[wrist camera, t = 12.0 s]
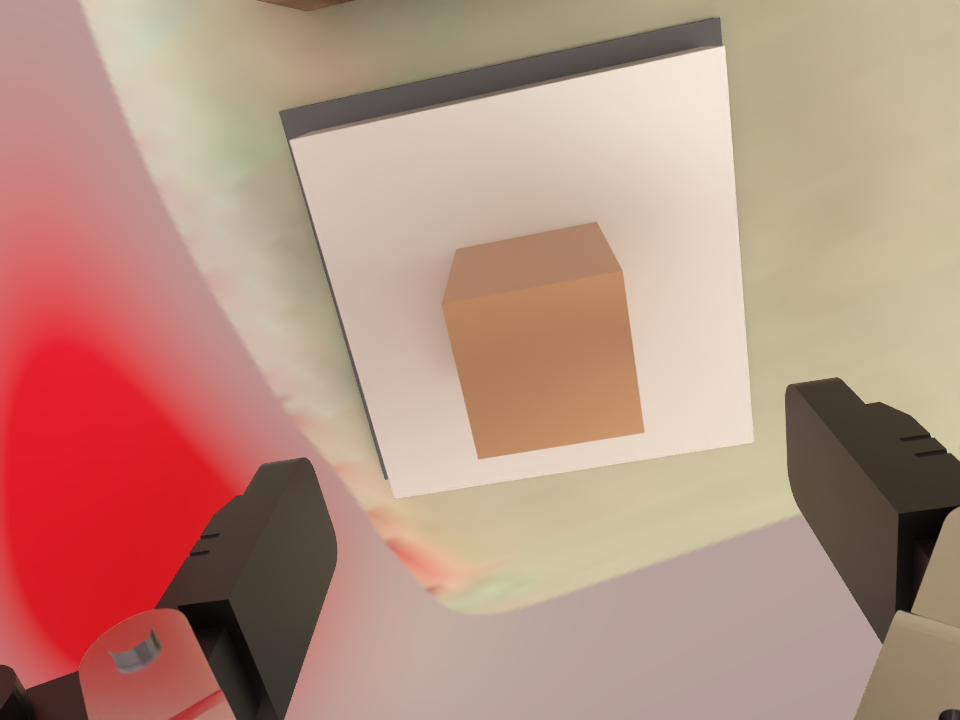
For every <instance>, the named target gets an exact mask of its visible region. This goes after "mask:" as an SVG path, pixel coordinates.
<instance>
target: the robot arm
mask: <svg viewBox="0 0 960 720" xmlns="http://www.w3.org/2000/svg"><path fill="white" fill-rule="evenodd" d="M785 410H786V438H787V465H788V476H789V481H790V486H791V490H792V493H793V496H794V499H795V501H796V503H797V506H798V507H799V509H800V511H801V512H802V514H803V516H804V517H805V519H806V521H807V522H808V524H809V525H810V527H811V529H812V530H813V532H814V533H815V535H816V537H817V538H818V540H819V542H820V543H821V545H822V547H823V548H824V550H825V551H826V553H827V555H828V556H829V558H830V560H831V561H832V563H833V564H834V566H835V568H836V569H837V571H838V573H839V574H840V576H841V577H842V579H843V581H844V582H845V584H846V586H847V587H848V589H849V591H850V592H851V594H852V595H853V597H854V599H855V600H856V602H857V604H858V605H859V607H860V608H861V610H862V612H863V613H864V615H865V616H866V618H867V620H868V621H869V623H870V625H871V626H872V628H873V630H874V631H875V633H876V634H877V636H878V638H879V639H880V641H881V643H882V644H883V646H882V648H881V651H880V653H879V657H878V659H877V661H876V664H875V666H874V669H873V671H872V674H871V676H870V679H869V682H868V684H867V687H866V689H865V692H864V694H863V697H862V699H861V702H860V705H859V707H858V710H857V713H856V715H855V717H854V720H960V461H959V460H957V459H956V458H955V457H954V456H953V455H952V454H951V453H947V449H946V448H945V447H944V446H943V445H941V444H940V443H939V442H938V441H937V440H936V439H935V438H931V436H930V433H929V432H928V431H927V430H926V429H924V428H923V427H922V426H921V425H920V424H919V423H918V422H917V421H916V420H915V419H914V418H913V417H912V416H910V415H908V414H906V413H904V412H901V411H899V410H897V409H895V408H892V407H890V406H888V405H886V404H883V403H881V402H877V403H870V404H865V403H864V402H863V401H862V400H861V399H860V398H859V397H858V396H857V395H856V394H855V393H854V392H853V391H852V390H851V389H850V388H849V387H848V386H847V385H846V384H845V383H844V382H843V381H842V380H841V379H840V378H829V379H823V380H816V381H809V382H803V383H796V384H790V385H788V387H787V389H786V393H785ZM336 561H337V542H336V536H335V531H334V528H333V525H332V522H331V519H330V516H329V514H328V510H327V507H326V504H325V501H324V498H323V495H322V492H321V489H320V486H319V483H318V480H317V477H316V473H315V471H314V468H313V466H312V464H311V462H310V461H309V460H308V459H307V458H297V459H290V460H284V461H278V462H271V463H265V464H262V465H261V466H260V467H259V469H258V471H257V472H256V474H255V476H254V477H253V479H252V481H251V482H250V484H249V486H248V487H247V489H246V491H245V492H244V494H243V495H240V496H235V497H234V498H233V499H232V500H231V501H230V502H229V503H227V504H226V505H225V506H224V507H223V508H222V509H220V510H219V511H218V512H217V513H216V514H215V515H213V517H212V519H211V520H210V522H209V523H208V525H207V526H206V528H205V530H204V531H203V533H202V534H201V540H198V541H197V542H196V544H195V546H194V547H193V549H192V550H191V552H190V557H187V558H186V560H185V561H184V563H183V564H182V566H181V567H180V569H179V571H178V572H177V574H176V575H175V577H174V579H173V580H172V582H171V583H170V585H169V586H168V588H167V590H166V591H165V593H164V594H163V596H162V597H161V599H160V601H159V602H158V604H157V605H156V607H155V609H154V610H150V611H146V612H143V613H140V614H137V615H135V616H132V617H130V618H128V619H126V620H124V621H122V622H121V623H119V624H117V625H115V626H114V627H113V628H111V629H110V630H108V631H107V632H106V633H104V634H103V635H102V636H101V637H100V638H99V639H98V640H96V641H95V642H94V643H93V645H92V646H91V647H90V648H89V649H88V651H87V653H86V654H85V655H84V657H83V659H82V661H81V663H80V667H79V671H76V672H74V673H71V674H68V675H65V676H63V677H60V678H57V679H54V680H51V681H48V682H46V683H43V684H40V685H37V686H34V687H32V688H29V689H26V690H25V689H24V687H23V685H22V684H21V682H20V680H19V679H18V677H17V675H16V673H15V672H14V670H13V669H12V668H10V667H8V666H5V665H0V720H284V718H285V715H286V712H287V709H288V706H289V703H290V700H291V697H292V694H293V691H294V689H295V686H296V683H297V680H298V677H299V674H300V671H301V668H302V665H303V662H304V659H305V656H306V653H307V650H308V647H309V644H310V641H311V638H312V635H313V632H314V629H315V626H316V623H317V621H318V618H319V614H320V612H321V609H322V606H323V602H324V600H325V596H326V594H327V591H328V588H329V585H330V582H331V579H332V576H333V573H334V570H335V567H336Z"/></svg>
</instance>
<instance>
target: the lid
mask: <svg viewBox="0 0 960 720" xmlns="http://www.w3.org/2000/svg"><path fill="white" fill-rule="evenodd" d="M289 141H290V145H291V148H292V152H293V155H294V158H295V162H296V165H297V169H298V172H299V175H300V179H301V182H302V186H303V189H304V192H305V196H306V199H307V203H308V206H309V209H310V213H311V216H312V220H313V223H314V227H315V230H316V233H317V237H318V240H319V244H320V247H321V250H322V254H323V257H324V261H325V264H326V267H327V271H328V274H329V278H330V281H331V284H332V288H333V291H334V295H335V298H336V301H337V305H338V308H339V312H340V315H341V319H342V322H343V325H344V329H345V332H346V336H347V339H348V342H349V346H350V349H351V353H352V356H353V359H354V363H355V366H356V370H357V373H358V376H359V380H360V383H361V387H362V390H363V393H364V397H365V400H366V404H367V407H368V411H369V414H370V417H371V421H372V424H373V428H374V431H375V434H376V438H377V441H378V445H379V448H380V451H381V455H382V458H383V462H384V465H385V468H386V472H387V475H388V479H389V482H390V485H391V489H392V492H393V496H394V499H398V498H404V497H410V496H417V495H423V494H429V493H436V492H442V491H448V490H455V489H461V488H468V487H474V486H480V485H487V484H493V483H499V482H506V481H512V480H518V479H525V478H531V477H537V476H544V475H550V474H557V473H563V472H569V471H576V470H582V469H588V468H595V467H601V466H607V465H614V464H620V463H627V462H633V461H639V460H646V459H652V458H658V457H665V456H671V455H677V454H684V453H690V452H696V451H703V450H709V449H716V448H722V447H728V446H735V445H741V444H747V443H754V437H753V423H752V409H751V395H750V381H749V368H748V354H747V340H746V326H745V313H744V299H743V285H742V271H741V258H740V244H739V230H738V216H737V203H736V189H735V175H734V161H733V148H732V134H731V120H730V106H729V92H728V79H727V65H726V51H725V46H706V47H697V48H693V49H688V50H684V51H679V52H674V53H670V54H665V55H661V56H656V57H651V58H647V59H642V60H638V61H633V62H629V63H624V64H619V65H615V66H610V67H606V68H601V69H596V70H592V71H587V72H583V73H578V74H573V75H569V76H564V77H560V78H555V79H550V80H546V81H541V82H537V83H532V84H527V85H523V86H518V87H514V88H509V89H504V90H500V91H495V92H491V93H486V94H481V95H477V96H472V97H468V98H463V99H458V100H454V101H449V102H445V103H440V104H435V105H431V106H426V107H422V108H417V109H412V110H408V111H403V112H399V113H394V114H389V115H385V116H380V117H376V118H371V119H366V120H362V121H357V122H353V123H348V124H343V125H339V126H334V127H330V128H325V129H320V130H316V131H312V132H309V133H307V134H304V135H301V136H299V137H296V138H294V139H291V140H289Z"/></svg>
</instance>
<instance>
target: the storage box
mask: <svg viewBox="0 0 960 720" xmlns="http://www.w3.org/2000/svg"><path fill="white" fill-rule="evenodd" d="M258 1H263V2H267V3H272V4H277V5H281V6H286V7H290V8H295V9H300V10H304V11H309V10H313V9H317V8H322V7H326V6H331V5H335V4H339V3H344V2H348V1H352V0H258Z"/></svg>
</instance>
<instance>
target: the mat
mask: <svg viewBox="0 0 960 720" xmlns="http://www.w3.org/2000/svg"><path fill="white" fill-rule="evenodd" d="M706 46H722V38H721V23H720V17H719V18H713V19H709V20H704V21H699V22H695V23H690V24H686V25H681V26H676V27H672V28H667V29H662V30H658V31H653V32H648V33H644V34H639V35H634V36H630V37H625V38H620V39H616V40H611V41H606V42H602V43H597V44H592V45H588V46H583V47H578V48H574V49H569V50H564V51H560V52H555V53H550V54H546V55H541V56H536V57H532V58H527V59H522V60H518V61H513V62H508V63H504V64H499V65H494V66H490V67H485V68H480V69H476V70H471V71H466V72H462V73H457V74H452V75H448V76H443V77H438V78H434V79H429V80H424V81H420V82H415V83H411V84H406V85H401V86H397V87H392V88H387V89H383V90H378V91H373V92H369V93H364V94H359V95H355V96H350V97H345V98H341V99H336V100H331V101H327V102H322V103H317V104H313V105H308V106H303V107H299V108H294V109H289V110H285V111H280V112H279V113H280V117H281V120H282V124H283V127H284V131H285V134H286V138H287V141H288V144H289V148H290V151H291V155H292V158H293V162H294V165H295V169H296V172H297V176H298V179H299V183H300V186H301V190H302V193H303V197H304V200H305V203H306V207H307V210H308V214H309V217H310V221H311V224H312V228H313V231H314V235H315V238H316V242H317V245H318V249H319V252H320V255H321V259H322V262H323V266H324V269H325V273H326V276H327V280H328V283H329V287H330V290H331V294H332V297H333V301H334V304H335V308H336V311H337V314H338V318H339V321H340V325H341V328H342V332H343V335H344V339H345V342H346V346H347V349H348V353H349V356H350V360H351V363H352V366H353V370H354V373H355V377H356V380H357V384H358V387H359V391H360V394H361V398H362V401H363V405H364V408H365V412H366V415H367V419H368V422H369V425H370V429H371V432H372V436H373V439H374V443H375V446H376V450H377V453H378V457H379V460H380V464H381V467H382V471H383V474H384V478H385V479H388V475H387V472H386V468H385V465H384V462H383V458H382V455H381V451H380V448H379V445H378V441H377V438H376V434H375V431H374V428H373V424H372V421H371V417H370V414H369V411H368V407H367V404H366V400H365V397H364V393H363V390H362V387H361V383H360V380H359V376H358V373H357V370H356V366H355V363H354V359H353V356H352V353H351V349H350V346H349V342H348V339H347V336H346V332H345V329H344V325H343V322H342V319H341V315H340V312H339V308H338V305H337V301H336V298H335V295H334V291H333V288H332V284H331V281H330V278H329V274H328V271H327V267H326V264H325V261H324V257H323V254H322V250H321V247H320V244H319V240H318V237H317V233H316V230H315V227H314V223H313V220H312V216H311V213H310V209H309V206H308V203H307V199H306V196H305V192H304V189H303V186H302V182H301V179H300V175H299V172H298V169H297V165H296V162H295V158H294V155H293V152H292V148H291V145H290V141H289V140H291V139H294V138H296V137H299V136H301V135H304V134H307V133H309V132H312V131H316V130H320V129H325V128H330V127H334V126H339V125H343V124H348V123H353V122H357V121H362V120H366V119H371V118H376V117H380V116H385V115H389V114H394V113H399V112H403V111H408V110H412V109H417V108H422V107H426V106H431V105H435V104H440V103H445V102H449V101H454V100H458V99H463V98H468V97H472V96H477V95H481V94H486V93H491V92H495V91H500V90H504V89H509V88H514V87H518V86H523V85H527V84H532V83H537V82H541V81H546V80H550V79H555V78H560V77H564V76H569V75H573V74H578V73H583V72H587V71H592V70H596V69H601V68H606V67H610V66H615V65H619V64H624V63H629V62H633V61H638V60H642V59H647V58H651V57H656V56H661V55H665V54H670V53H674V52H679V51H684V50H688V49H693V48H697V47H706Z"/></svg>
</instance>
